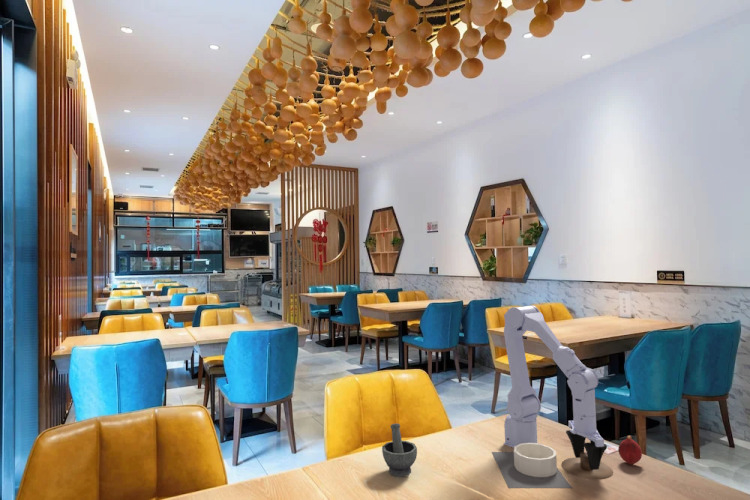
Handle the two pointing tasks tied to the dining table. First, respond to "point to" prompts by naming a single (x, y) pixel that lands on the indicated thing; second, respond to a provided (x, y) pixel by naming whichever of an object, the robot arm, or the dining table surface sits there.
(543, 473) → the bowl
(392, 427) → the mortar and pestle
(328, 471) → the dining table surface
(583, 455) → the lid
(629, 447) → the onion
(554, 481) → the placemat
